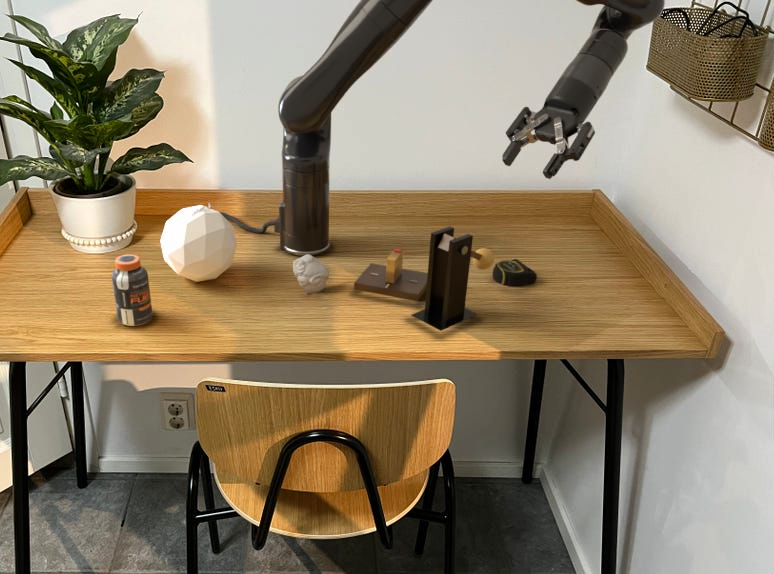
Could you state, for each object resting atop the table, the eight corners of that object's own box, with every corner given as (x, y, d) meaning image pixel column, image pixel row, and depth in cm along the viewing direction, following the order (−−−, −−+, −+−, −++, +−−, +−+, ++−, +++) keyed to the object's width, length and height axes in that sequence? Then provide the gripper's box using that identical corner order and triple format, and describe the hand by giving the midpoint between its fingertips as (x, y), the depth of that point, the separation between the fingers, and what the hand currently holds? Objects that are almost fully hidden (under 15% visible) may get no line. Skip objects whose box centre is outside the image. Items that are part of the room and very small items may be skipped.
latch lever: (476, 267, 134) (485, 248, 133) (492, 274, 131) (501, 254, 131) (433, 249, 124) (442, 228, 124) (449, 256, 122) (459, 235, 121)
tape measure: (536, 289, 141) (539, 270, 139) (503, 295, 139) (506, 276, 137) (516, 274, 146) (519, 256, 144) (484, 279, 145) (487, 260, 143)
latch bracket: (446, 305, 136) (454, 221, 128) (476, 320, 131) (487, 233, 123) (410, 320, 131) (416, 234, 123) (440, 337, 127) (448, 248, 118)
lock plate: (353, 294, 140) (354, 281, 138) (370, 275, 147) (371, 262, 145) (417, 307, 136) (418, 293, 134) (431, 285, 143) (432, 272, 141)
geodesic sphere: (186, 222, 154) (162, 181, 141) (254, 229, 151) (235, 187, 138) (166, 289, 150) (139, 252, 136) (236, 297, 146) (215, 261, 133)
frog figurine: (301, 281, 145) (301, 247, 141) (335, 289, 142) (336, 254, 138) (287, 295, 140) (286, 260, 136) (321, 303, 137) (321, 267, 134)
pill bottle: (136, 330, 130) (127, 269, 124) (110, 321, 132) (100, 261, 126) (160, 315, 134) (152, 255, 128) (134, 307, 137) (126, 248, 131)
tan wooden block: (393, 283, 138) (395, 259, 135) (385, 282, 138) (386, 257, 136) (402, 273, 141) (403, 249, 139) (393, 272, 142) (395, 247, 139)
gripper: (536, 68, 132) (484, 147, 133) (609, 82, 123) (552, 167, 123) (551, 95, 138) (500, 171, 138) (621, 111, 128) (567, 192, 129)
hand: (525, 169), depth 131 cm, fingers open, 8 cm apart
